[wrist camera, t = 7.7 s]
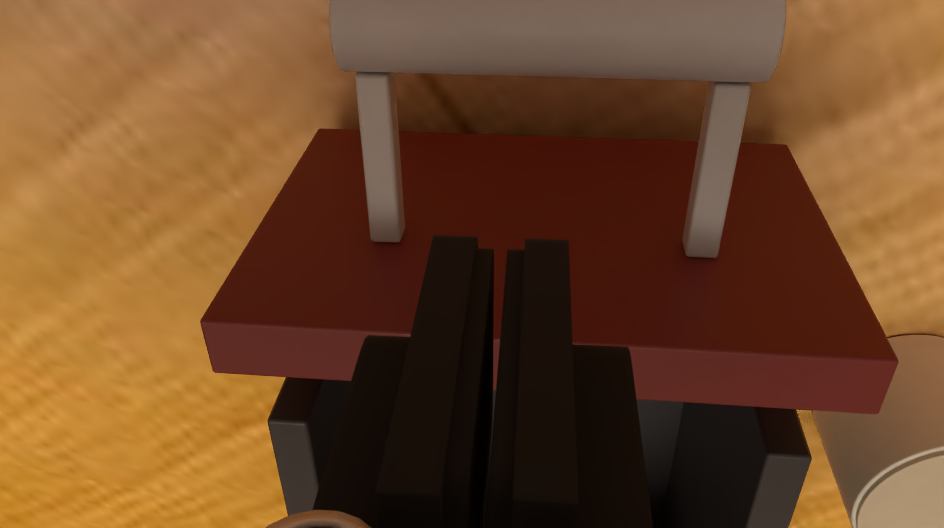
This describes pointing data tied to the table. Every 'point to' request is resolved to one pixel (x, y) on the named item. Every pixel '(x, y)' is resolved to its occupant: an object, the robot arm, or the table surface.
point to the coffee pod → (894, 444)
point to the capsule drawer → (570, 245)
